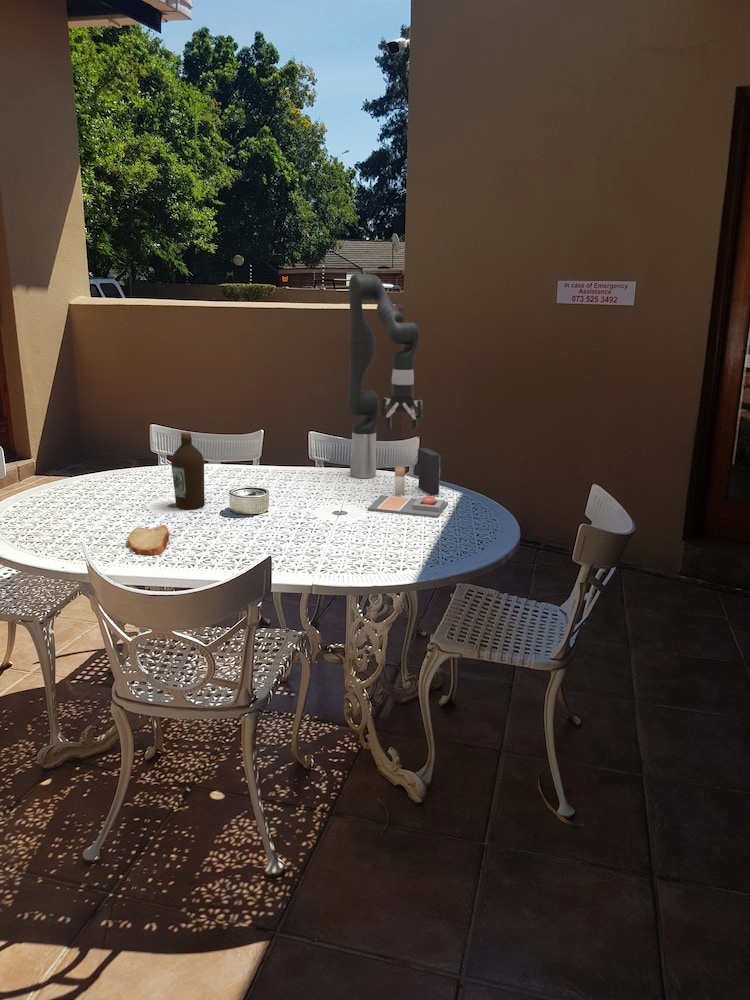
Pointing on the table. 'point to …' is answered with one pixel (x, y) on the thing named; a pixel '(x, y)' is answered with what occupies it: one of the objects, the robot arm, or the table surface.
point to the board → (407, 506)
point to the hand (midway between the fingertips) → (401, 428)
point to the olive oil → (188, 475)
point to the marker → (399, 480)
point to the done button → (428, 500)
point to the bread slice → (148, 540)
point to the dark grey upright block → (429, 471)
